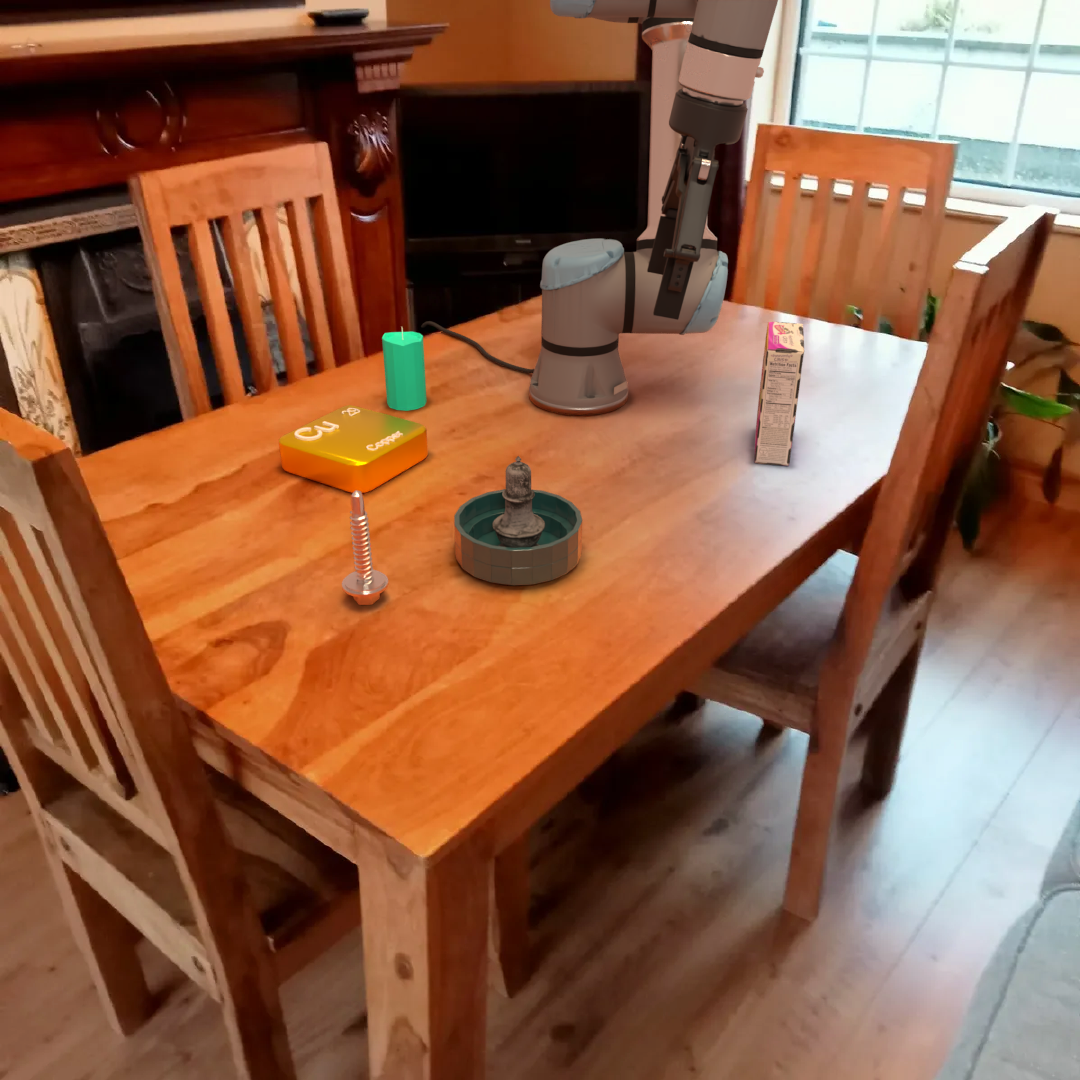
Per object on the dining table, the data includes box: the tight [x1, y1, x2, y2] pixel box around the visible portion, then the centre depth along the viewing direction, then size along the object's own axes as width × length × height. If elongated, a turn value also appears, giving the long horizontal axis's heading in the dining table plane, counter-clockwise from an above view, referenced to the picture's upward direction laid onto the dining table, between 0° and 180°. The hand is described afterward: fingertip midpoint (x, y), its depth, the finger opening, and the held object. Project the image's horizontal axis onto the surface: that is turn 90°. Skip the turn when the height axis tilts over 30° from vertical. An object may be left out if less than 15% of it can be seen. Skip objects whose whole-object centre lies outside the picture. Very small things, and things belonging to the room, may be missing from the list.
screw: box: [341, 490, 389, 606], centre depth 104 cm, size 13×5×5 cm
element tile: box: [278, 404, 429, 494], centre depth 135 cm, size 15×15×5 cm
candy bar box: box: [754, 321, 805, 467], centre depth 136 cm, size 11×5×16 cm, turn 168°
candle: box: [381, 326, 428, 412], centre depth 151 cm, size 6×6×12 cm
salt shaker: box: [493, 455, 545, 548], centre depth 112 cm, size 6×6×12 cm
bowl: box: [453, 488, 583, 586], centre depth 114 cm, size 14×14×5 cm
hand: (661, 293), depth 114 cm, fingers open, 13 cm apart
